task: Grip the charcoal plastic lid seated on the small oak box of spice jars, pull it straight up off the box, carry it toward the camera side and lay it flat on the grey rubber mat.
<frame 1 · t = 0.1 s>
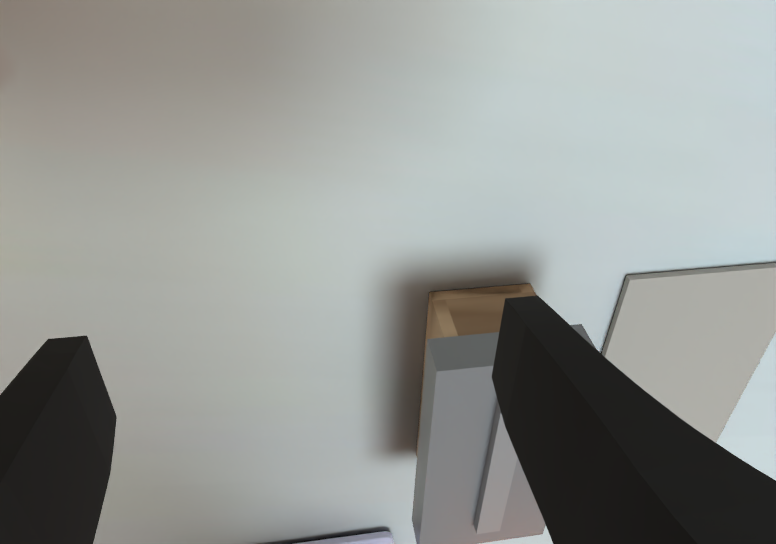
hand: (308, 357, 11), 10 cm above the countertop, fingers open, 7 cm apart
mat: (668, 385, 30), on the countertop
box: (467, 377, 28), on the countertop
lid: (486, 433, 25), point 3 cm above the countertop, touching box
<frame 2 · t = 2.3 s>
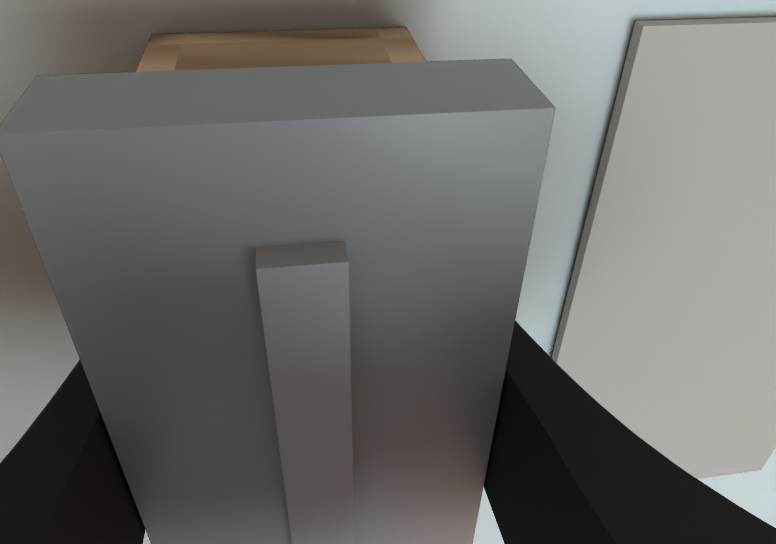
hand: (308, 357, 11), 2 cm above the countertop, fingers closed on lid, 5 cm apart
mat: (713, 308, 16), on the countertop
box: (301, 278, 13), on the countertop
lid: (310, 386, 11), point 3 cm above the countertop, touching box, gripper
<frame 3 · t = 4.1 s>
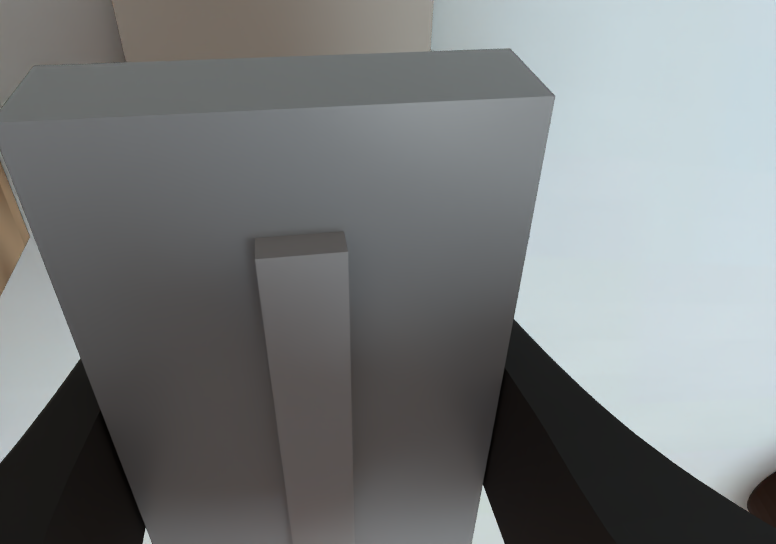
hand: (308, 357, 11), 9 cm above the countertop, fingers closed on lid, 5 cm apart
mat: (288, 132, 19), on the countertop
lid: (310, 380, 11), point 10 cm above the countertop, touching gripper
when the fingers open (2 cm above the countertop, at t = 6.0 s): lid drops 1 cm, resting on mat.
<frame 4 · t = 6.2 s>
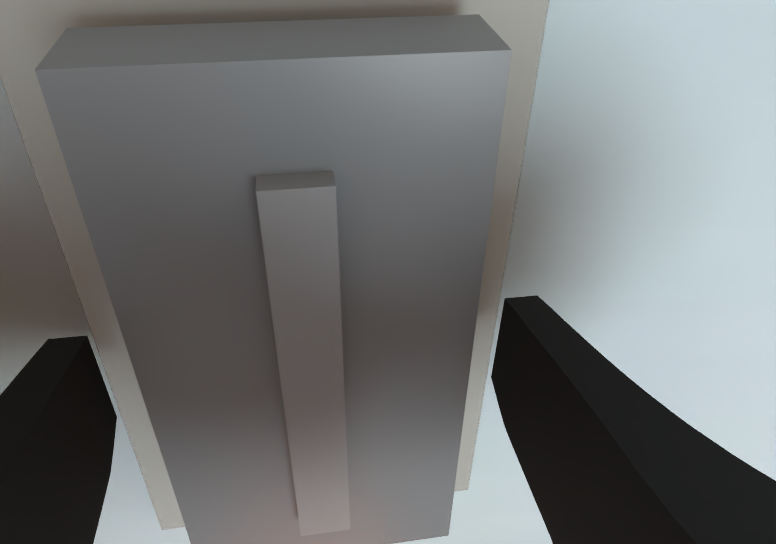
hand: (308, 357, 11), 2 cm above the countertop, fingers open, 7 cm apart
mat: (303, 296, 13), on the countertop
lid: (307, 323, 12), point 1 cm above the countertop, touching mat
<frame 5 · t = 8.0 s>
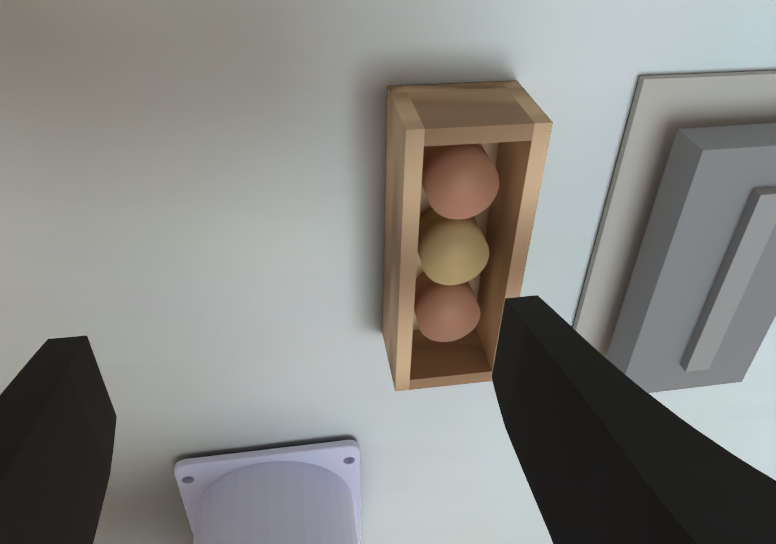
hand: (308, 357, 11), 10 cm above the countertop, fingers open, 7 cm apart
mat: (688, 248, 25), on the countertop
box: (441, 223, 22), on the countertop
lid: (702, 260, 24), point 1 cm above the countertop, touching mat
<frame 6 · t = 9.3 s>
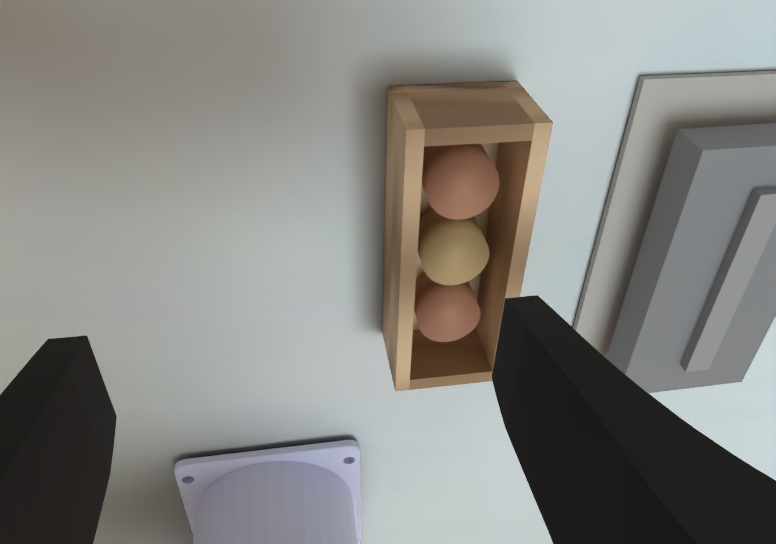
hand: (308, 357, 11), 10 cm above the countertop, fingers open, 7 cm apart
mat: (688, 248, 25), on the countertop
box: (441, 223, 22), on the countertop
lid: (702, 260, 24), point 1 cm above the countertop, touching mat
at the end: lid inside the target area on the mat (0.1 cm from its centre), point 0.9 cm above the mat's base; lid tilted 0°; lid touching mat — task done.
